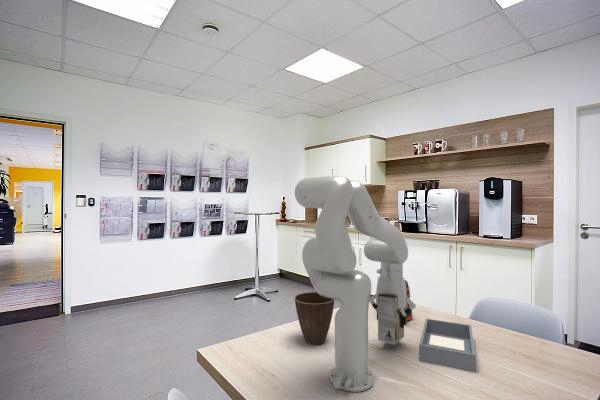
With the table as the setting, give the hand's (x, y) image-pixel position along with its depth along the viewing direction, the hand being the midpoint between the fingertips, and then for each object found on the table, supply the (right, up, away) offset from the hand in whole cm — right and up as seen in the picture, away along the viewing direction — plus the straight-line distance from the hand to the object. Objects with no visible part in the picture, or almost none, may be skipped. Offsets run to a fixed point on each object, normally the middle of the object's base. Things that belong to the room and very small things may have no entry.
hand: (391, 324), depth 110 cm
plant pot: (-27, -9, +6) cm, 29 cm away
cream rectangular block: (+15, -7, -9) cm, 19 cm away
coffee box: (0, -5, 0) cm, 5 cm away
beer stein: (+11, -9, +29) cm, 32 cm away
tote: (+18, -8, -3) cm, 20 cm away
